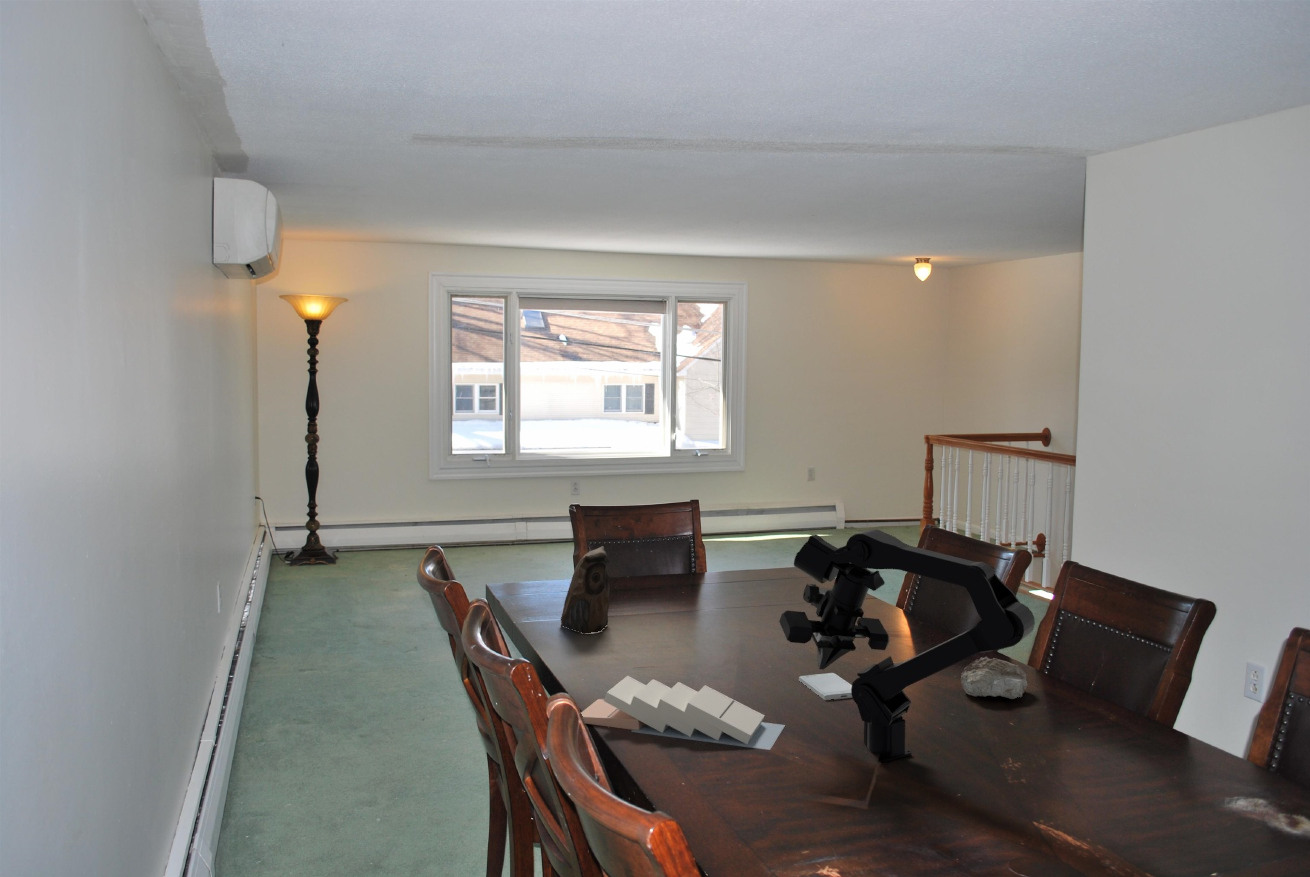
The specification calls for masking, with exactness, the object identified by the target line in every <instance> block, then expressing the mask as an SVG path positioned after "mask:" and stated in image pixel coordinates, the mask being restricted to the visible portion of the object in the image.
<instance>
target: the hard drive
mask: <svg viewBox="0 0 1310 877" xmlns="http://www.w3.org/2000/svg"><path fill="white" fill-rule="evenodd" d="M799 681H800V683H801V682H802V683H803V684H804V686H805V685H806V686H807V689H808V690H810V689H811V690H810V691H811V692H813V693H814V694H816V695H817V696H818V695H819V696H818V697H819V698H821V699H822V700H824V701H832V700H831V699H834V700H841V699H853V697H852V693H851V688H852V684H851V683H850V682H848V681H847V680H845V679H844V678H842V677H840V676H839V675H838V674H836V673H834V672H828V673H819V674H818V673H817V674H808V675H801V676H799V677H798V682H799ZM802 683H801V684H802ZM803 684H802V685H803ZM806 686H805V687H806Z"/></svg>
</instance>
